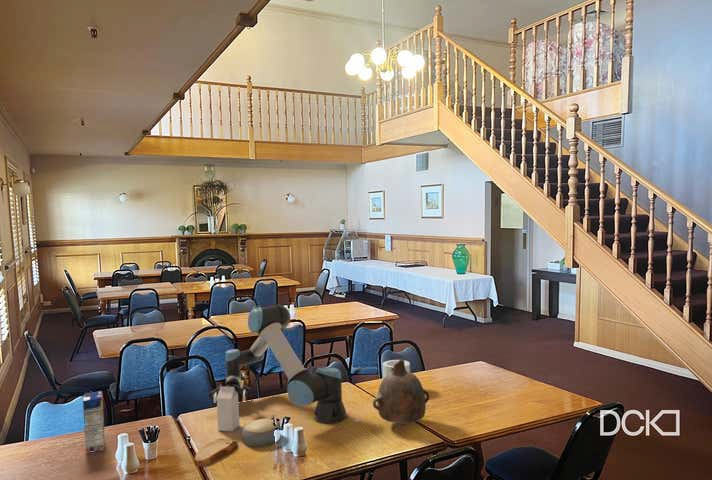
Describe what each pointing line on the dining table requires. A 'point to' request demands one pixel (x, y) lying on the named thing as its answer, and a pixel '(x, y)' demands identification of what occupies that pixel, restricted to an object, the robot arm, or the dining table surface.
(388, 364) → the container
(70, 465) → the dining table surface
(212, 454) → the slice of bread
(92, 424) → the beverage box
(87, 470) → the dining table surface
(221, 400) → the milk carton
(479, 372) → the dining table surface
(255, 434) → the podium
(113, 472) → the dining table surface
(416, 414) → the jug
